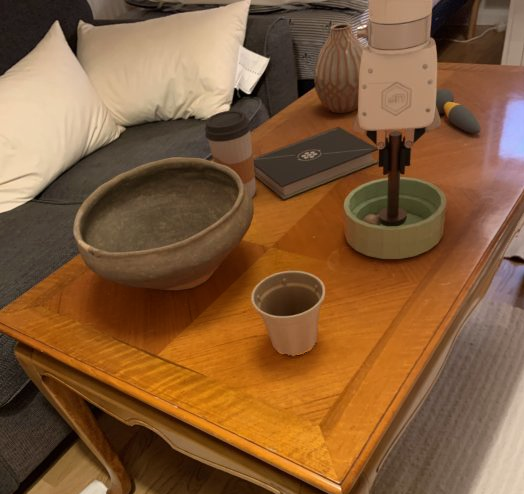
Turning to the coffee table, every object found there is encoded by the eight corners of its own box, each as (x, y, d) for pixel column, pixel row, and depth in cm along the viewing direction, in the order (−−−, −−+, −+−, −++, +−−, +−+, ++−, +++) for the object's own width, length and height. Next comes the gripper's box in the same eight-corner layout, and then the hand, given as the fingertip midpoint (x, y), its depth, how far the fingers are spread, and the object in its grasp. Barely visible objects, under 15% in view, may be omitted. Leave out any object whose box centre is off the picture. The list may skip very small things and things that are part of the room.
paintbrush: (494, 132, 105) (498, 107, 102) (472, 139, 104) (476, 114, 101) (438, 103, 119) (440, 80, 115) (419, 109, 118) (420, 86, 115)
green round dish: (441, 207, 89) (445, 175, 85) (443, 262, 79) (447, 228, 74) (350, 209, 93) (349, 178, 89) (340, 261, 83) (338, 229, 78)
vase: (307, 117, 125) (299, 35, 112) (331, 95, 132) (327, 16, 120) (357, 121, 119) (355, 35, 106) (380, 98, 126) (380, 16, 114)
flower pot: (289, 309, 76) (282, 262, 70) (342, 333, 71) (340, 284, 65) (247, 348, 72) (236, 300, 66) (300, 376, 67) (293, 327, 61)
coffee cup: (269, 193, 102) (257, 115, 91) (234, 210, 99) (218, 133, 88) (246, 180, 107) (232, 105, 96) (212, 196, 104) (194, 121, 94)
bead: (373, 229, 88) (384, 216, 86) (372, 239, 86) (383, 226, 84) (359, 220, 87) (370, 207, 85) (357, 230, 85) (368, 217, 83)
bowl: (169, 216, 101) (147, 146, 91) (293, 241, 89) (283, 163, 79) (67, 304, 86) (27, 231, 76) (200, 349, 73) (173, 269, 63)
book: (338, 139, 114) (337, 126, 111) (378, 162, 104) (378, 148, 101) (250, 172, 109) (248, 159, 107) (283, 200, 99) (281, 186, 97)
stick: (406, 211, 85) (411, 126, 75) (406, 226, 82) (411, 139, 72) (379, 212, 86) (380, 127, 76) (377, 226, 83) (378, 141, 73)
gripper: (332, 47, 64) (338, 184, 77) (467, 35, 60) (450, 181, 73) (339, 29, 69) (344, 160, 82) (464, 17, 65) (449, 156, 78)
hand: (394, 169), depth 78 cm, fingers closed on stick
